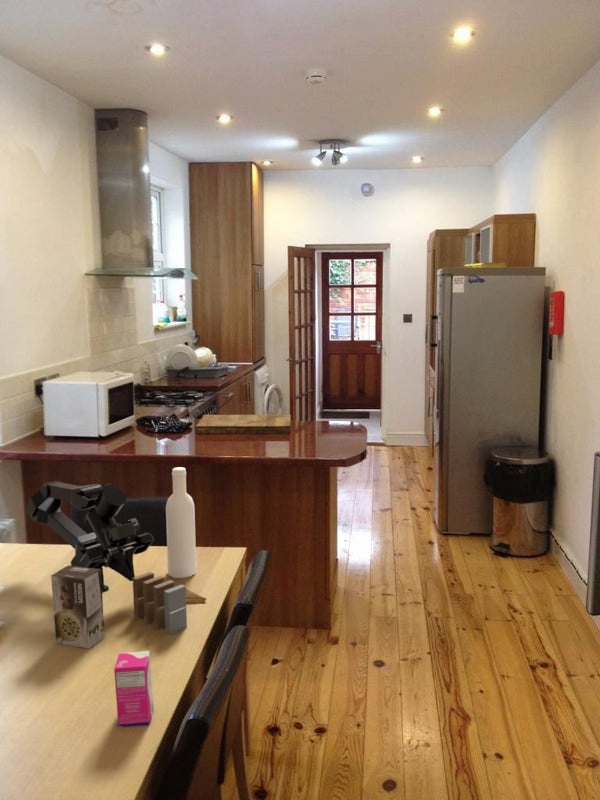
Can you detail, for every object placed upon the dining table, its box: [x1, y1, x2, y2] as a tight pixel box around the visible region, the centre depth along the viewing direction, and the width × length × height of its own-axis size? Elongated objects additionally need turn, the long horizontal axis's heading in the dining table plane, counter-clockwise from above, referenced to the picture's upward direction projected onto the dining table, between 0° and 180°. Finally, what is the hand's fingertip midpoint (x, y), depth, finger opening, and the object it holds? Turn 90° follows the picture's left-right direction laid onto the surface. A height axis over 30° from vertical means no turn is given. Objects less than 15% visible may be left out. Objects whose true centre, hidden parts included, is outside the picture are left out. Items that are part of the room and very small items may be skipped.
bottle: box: [165, 466, 197, 579], centre depth 196 cm, size 8×8×30 cm
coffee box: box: [50, 564, 105, 649], centre depth 158 cm, size 9×6×16 cm
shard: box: [186, 589, 207, 604], centre depth 180 cm, size 11×8×2 cm
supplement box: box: [113, 650, 154, 727], centre depth 128 cm, size 6×6×12 cm
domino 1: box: [132, 571, 155, 620], centre depth 171 cm, size 2×5×10 cm, turn 139°
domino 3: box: [153, 579, 176, 630], centre depth 166 cm, size 2×5×10 cm, turn 139°
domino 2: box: [143, 575, 165, 625], centre depth 168 cm, size 2×5×10 cm, turn 139°
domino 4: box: [164, 584, 188, 635], centre depth 163 cm, size 2×5×10 cm, turn 139°
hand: (133, 580), depth 173 cm, fingers closed
